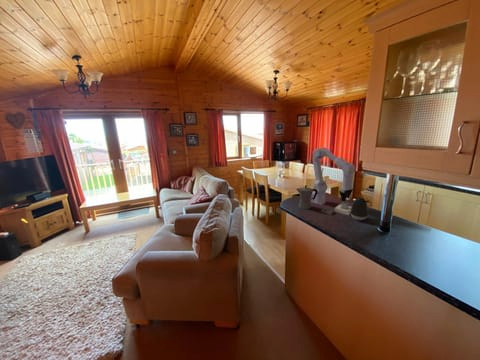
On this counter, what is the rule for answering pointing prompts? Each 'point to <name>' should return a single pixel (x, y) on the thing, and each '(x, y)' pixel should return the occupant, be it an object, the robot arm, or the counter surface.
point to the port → (343, 210)
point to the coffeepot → (305, 197)
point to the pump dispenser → (359, 209)
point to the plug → (345, 205)
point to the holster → (327, 211)
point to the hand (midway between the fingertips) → (345, 199)
